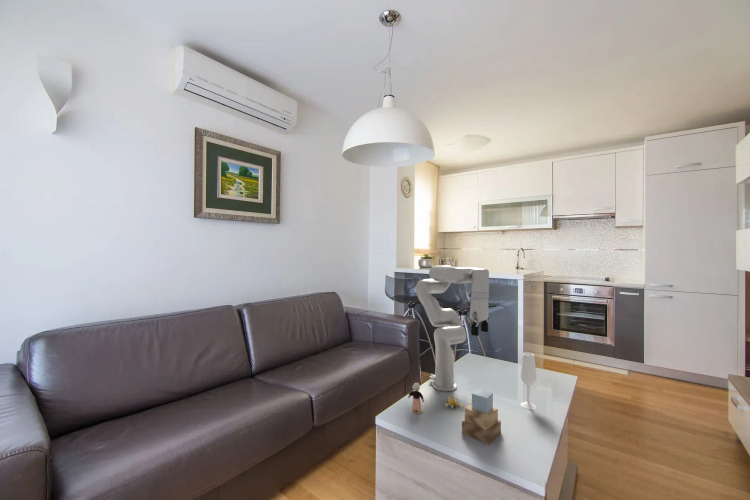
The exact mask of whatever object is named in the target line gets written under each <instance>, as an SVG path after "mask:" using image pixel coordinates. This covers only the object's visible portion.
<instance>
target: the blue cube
mask: <svg viewBox="0 0 750 500" xmlns="http://www.w3.org/2000/svg"><path fill="white" fill-rule="evenodd" d="M471 404H472V409H474V410H477V411H480V412H483V413H485V414H487V413H488V412H489V411H490V410H491V409H492V408H493V407H494V393H493V392H491V391H487V390H485V389H480V388H477V389H476V390H475V391H473V392H472V393H471Z"/></svg>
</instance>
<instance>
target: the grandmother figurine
mask: <svg viewBox="0 0 750 500" xmlns="http://www.w3.org/2000/svg"><path fill="white" fill-rule="evenodd" d="M411 388H412V389H413V390H412V391H410V392H409V393H408V397H407V399H410V398H411V397H412V413H414V414H416V413H417V414H418V415H421V414H423V410H422V405H421V404H422V403H425V399H424V395H423V394H422V393H421V392H420V388H421V384H420V383H419V382H414V384H413V385H412V387H411ZM421 402H422V403H421Z"/></svg>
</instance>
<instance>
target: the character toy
mask: <svg viewBox="0 0 750 500" xmlns="http://www.w3.org/2000/svg"><path fill="white" fill-rule="evenodd" d="M447 397H448V399H447V401H448V402H447V403H446V404H445V408H448V406H450V407H451V408H452V409H453V408H454V406H455V407H456V406H459V407H461V408H463V407H464V405H463V404H462V403H460V402H459V403H458V402H457V400H456V397H455V396H454V395H448V396H447Z"/></svg>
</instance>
